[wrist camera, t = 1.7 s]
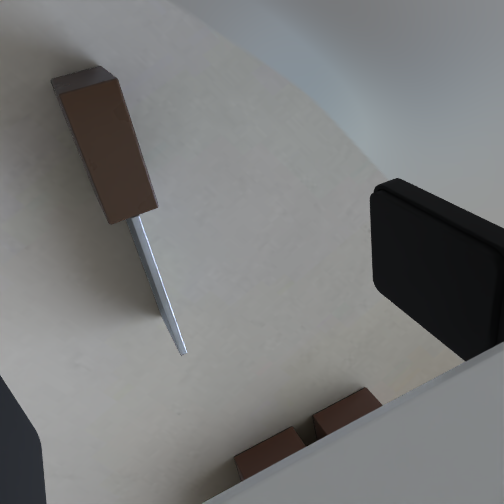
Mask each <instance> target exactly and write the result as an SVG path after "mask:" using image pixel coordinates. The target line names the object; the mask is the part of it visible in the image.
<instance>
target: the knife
mask: <svg viewBox="0 0 504 504" xmlns="http://www.w3.org/2000/svg"><path fill="white" fill-rule="evenodd" d="M51 83H52V86H53V88H54V91H55V93H56V96H57V98H58V101H59V103H60V106H61V108H62V111H63V114H64V116H65V119H66V121H67V124H68V126H69V129H70V131H71V134H72V136H73V139H74V141H75V144H76V146H77V149H78V151H79V154H80V156H81V159H82V161H83V164H84V167H85V169H86V172H87V174H88V177H89V179H90V182H91V184H92V187H93V189H94V192H95V194H96V197H97V199H98V201H99V203H100V205H101V207H102V210H103V212H104V214H105V216H106V218H107V220H108V223H109V224H114V223H117V222H120V221H122V220H125V219H126V221H127V224H128V227H129V230H130V232H131V235H132V238H133V240H134V243H135V246H136V249H137V251H138V254H139V257H140V259H141V262H142V265H143V267H144V270H145V273H146V276H147V278H148V281H149V284H150V286H151V289H152V292H153V295H154V297H155V300H156V303H157V305H158V308H159V311H160V313H161V316H162V319H163V321H164V323H165V325H166V327H167V329H168V331H169V333H170V335H171V337H172V339H173V341H174V343H175V345H176V347H177V349H178V351H179V353H180V355H181V356H182V355H184V354H186V353H187V351H186V348H185V345H184V342H183V339H182V336H181V333H180V331H179V328H178V325H177V322H176V319H175V316H174V313H173V311H172V308H171V305H170V302H169V299H168V296H167V293H166V291H165V288H164V285H163V282H162V279H161V276H160V273H159V271H158V268H157V265H156V262H155V259H154V256H153V254H152V251H151V248H150V245H149V242H148V239H147V236H146V234H145V231H144V228H143V225H142V222H141V219H140V216H139V214H142V213H145V212H147V211H150V210H153V209H156V208H158V202H157V199H156V196H155V193H154V190H153V187H152V184H151V181H150V178H149V174H148V171H147V168H146V165H145V162H144V159H143V156H142V153H141V150H140V146H139V143H138V140H137V137H136V134H135V131H134V128H133V125H132V122H131V118H130V115H129V112H128V109H127V106H126V103H125V100H124V97H123V94H122V90H121V87H120V84H119V81H118V79H117V78H116V77H115V76H113V75H112V74H111V73H109V72H108V71H107V70H105V69H104V68H103V67H102V66H98V67H94V68H90V69H87V70H83V71H79V72H76V73H72V74H68V75H65V76H61V77H57V78H53V79H51Z"/></svg>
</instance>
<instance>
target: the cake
mask: <svg viewBox="0 0 504 504" xmlns="http://www.w3.org/2000/svg"><path fill="white" fill-rule="evenodd" d="M381 406H383V405H382V404H381V403H380V402H379V401H378V400H377V399H376V398H375V396H374V395H373V394H372V393H371V392H370V391H369V390H368V389H367V388H364V389H362V390H360V391H358V392H356V393H354V394H352V395H350V396H349V397H347V398H345V399H343V400H341V401H339V402H337V403H335V404H333V405H332V406H330V407H328V408H326V409H324V410H322V411H320V412H318V413H316V414H315V415H313V418H314V424H315V430H316V436H317V441H318V440H320V439H322V438H324V437H325V436H327V435H329V434H331V433H333V432H335V431H337V430H338V429H340V428H342V427H344V426H346V425H348V424H350V423H351V422H353V421H355V420H357V419H359V418H361V417H363V416H365V415H366V414H368V413H370V412H372V411H374V410H376V409H378V408H379V407H381ZM305 447H306V446H305V445H304V443H303V442H302V440H301V439H300V437H299V436H298V434H297V433H296V431H295V430H294V428H293V427H290V428H288V429H286V430H284V431H283V432H281V433H279V434H277V435H275V436H273V437H271V438H269V439H267V440H266V441H264V442H262V443H260V444H258V445H256V446H254V447H252V448H250V449H249V450H247V451H245V452H243V453H241V454H239V455H237V456H235V457H234V460H235V463H236V466H237V469H238V472H239V475H240V478H241V481H244V480H246V479H248V478H250V477H251V476H253V475H255V474H257V473H259V472H261V471H262V470H264V469H266V468H268V467H270V466H272V465H273V464H275V463H277V462H279V461H281V460H283V459H284V458H286V457H288V456H290V455H292V454H294V453H296V452H297V451H299V450H301V449H303V448H305Z"/></svg>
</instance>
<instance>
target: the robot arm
mask: <svg viewBox="0 0 504 504" xmlns="http://www.w3.org/2000/svg"><path fill="white" fill-rule="evenodd" d="M370 217H371V243H372V269H373V282H374V285H375V287H376V288H377V290H378V291H379V292H380V293H381V294H383V295H384V296H385V297H386V298H388V299H389V300H390V301H391V302H393V303H394V304H395V305H396V306H397V307H399V308H400V309H401V310H402V311H404V312H405V313H406V314H407V315H409V316H410V317H411V318H412V319H414V320H415V321H416V322H417V323H419V324H420V325H421V326H422V327H423V328H425V329H426V330H427V331H428V332H430V333H431V334H432V335H433V336H435V337H436V338H437V339H438V340H440V341H441V342H442V343H443V344H445V345H446V346H447V347H448V348H450V349H451V350H452V351H453V352H454V353H456V354H457V355H458V356H459V357H461V358H462V359H463V360H464V361H466V362H464V363H462V364H460V365H459V366H457V367H455V368H453V369H451V370H449V371H447V372H445V373H443V374H442V375H440V376H438V377H436V378H434V379H432V380H430V381H428V382H426V383H424V384H423V385H421V386H419V387H417V388H415V389H413V390H411V391H409V392H408V393H406V394H404V395H402V396H400V397H398V398H396V399H394V400H393V401H391V402H389V403H387V404H385V405H383V406H381V407H379V408H378V409H376V410H374V411H372V412H370V413H368V414H366V415H365V416H363V417H361V418H359V419H357V420H355V421H353V422H351V423H350V424H348V425H346V426H344V427H342V428H340V429H338V430H337V431H335V432H333V433H331V434H329V435H327V436H325V437H324V438H322V439H320V440H318V441H316V442H314V443H312V444H311V445H309V446H307V447H305V448H303V449H301V450H299V451H297V452H296V453H294V454H292V455H290V456H288V457H286V458H284V459H283V460H281V461H279V462H277V463H275V464H273V465H272V466H270V467H268V468H266V469H264V470H262V471H261V472H259V473H257V474H255V475H253V476H251V477H250V478H248V479H246V480H244V481H242V482H240V483H238V484H237V485H235V486H233V487H231V488H229V489H227V490H226V491H224V492H222V493H220V494H218V495H216V496H215V497H213V498H211V499H209V500H207V501H205V502H203V503H202V504H504V228H502V227H500V226H498V225H495V224H493V223H491V222H489V221H487V220H485V219H483V218H481V217H479V216H477V215H474V214H473V213H471V212H469V211H466V210H464V209H462V208H460V207H458V206H456V205H454V204H452V203H450V202H448V201H446V200H444V199H441V198H439V197H437V196H435V195H433V194H431V193H429V192H427V191H425V190H423V189H421V188H418V187H417V186H414V185H412V184H410V183H408V182H406V181H404V180H402V179H399V178H396V179H393V180H390V181H387V182H385V183H382V184H380V185H377V186H376V187H375V189H374V193H372V194H371V196H370ZM0 504H46V493H45V482H44V471H43V459H42V448H41V442H40V439H39V436H38V434H37V432H36V430H35V428H34V427H33V425H32V424H31V422H30V420H29V419H28V417H27V416H26V414H25V413H24V411H23V410H22V408H21V407H20V405H19V404H18V402H17V400H16V399H15V397H14V396H13V394H12V393H11V391H10V390H9V388H8V387H7V385H6V383H5V382H4V380H3V379H2V377H1V376H0Z"/></svg>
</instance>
